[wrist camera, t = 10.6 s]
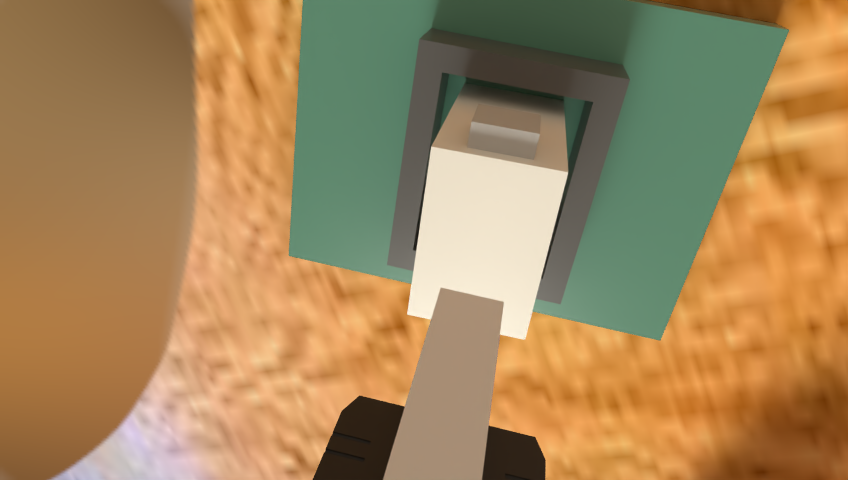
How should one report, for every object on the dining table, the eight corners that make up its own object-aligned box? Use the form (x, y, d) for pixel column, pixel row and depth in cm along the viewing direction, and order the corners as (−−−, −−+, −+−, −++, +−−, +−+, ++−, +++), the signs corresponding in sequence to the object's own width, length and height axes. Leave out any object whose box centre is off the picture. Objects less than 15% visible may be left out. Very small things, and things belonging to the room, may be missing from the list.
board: (299, 241, 32) (268, 282, 28) (319, -60, 25) (281, -56, 22) (655, 322, 30) (668, 375, 27) (776, 23, 24) (815, 42, 20)
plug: (443, 215, 28) (407, 314, 21) (468, 63, 25) (434, 120, 18) (531, 233, 28) (525, 339, 21) (568, 80, 25) (575, 146, 18)
